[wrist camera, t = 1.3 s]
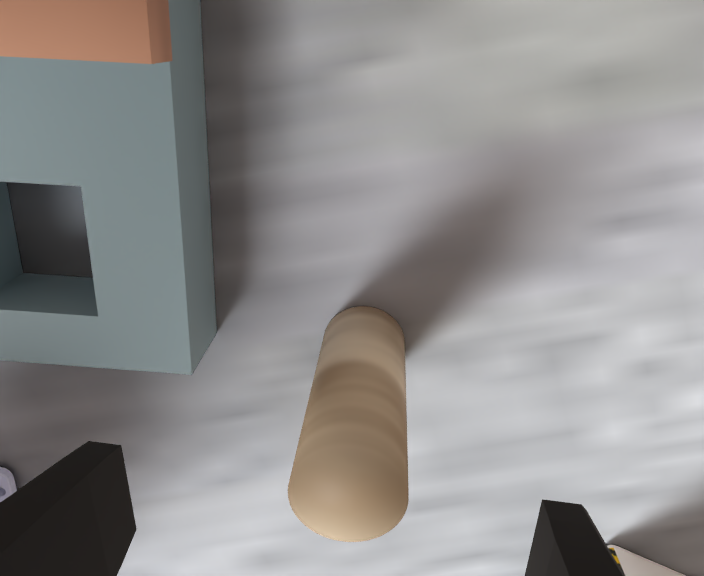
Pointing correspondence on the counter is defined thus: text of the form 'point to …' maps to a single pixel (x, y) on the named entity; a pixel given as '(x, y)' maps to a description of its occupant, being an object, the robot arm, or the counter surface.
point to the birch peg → (354, 431)
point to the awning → (86, 30)
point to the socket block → (113, 207)
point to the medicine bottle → (639, 564)
